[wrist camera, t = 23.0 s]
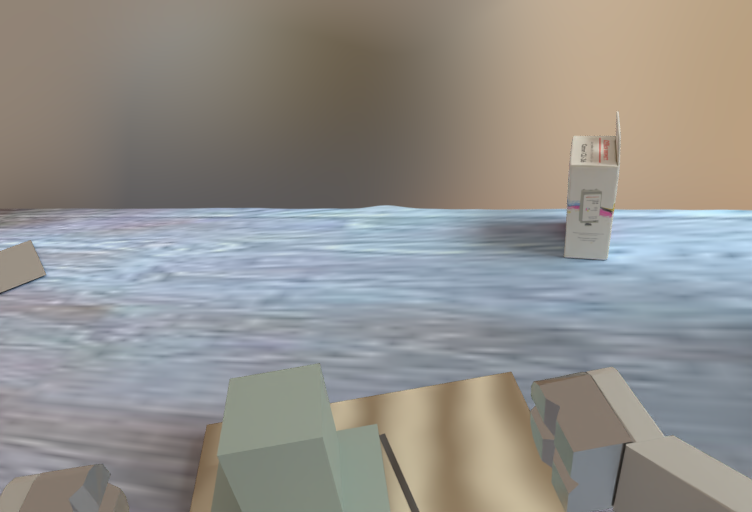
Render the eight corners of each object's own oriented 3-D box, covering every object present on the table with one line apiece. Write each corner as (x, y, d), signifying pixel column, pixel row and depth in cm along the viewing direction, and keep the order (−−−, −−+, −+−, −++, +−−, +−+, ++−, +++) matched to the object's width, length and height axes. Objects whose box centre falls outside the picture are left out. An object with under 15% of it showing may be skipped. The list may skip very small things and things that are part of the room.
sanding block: (379, 434, 40) (363, 345, 36) (394, 535, 34) (376, 442, 29) (225, 462, 40) (187, 375, 35) (209, 569, 33) (159, 481, 28)
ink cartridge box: (564, 222, 67) (573, 109, 59) (606, 224, 65) (621, 108, 58) (561, 258, 60) (571, 136, 52) (608, 262, 59) (626, 136, 51)
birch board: (510, 384, 45) (511, 371, 44) (599, 575, 32) (602, 562, 31) (212, 436, 44) (206, 424, 43) (171, 657, 31) (162, 645, 30)
